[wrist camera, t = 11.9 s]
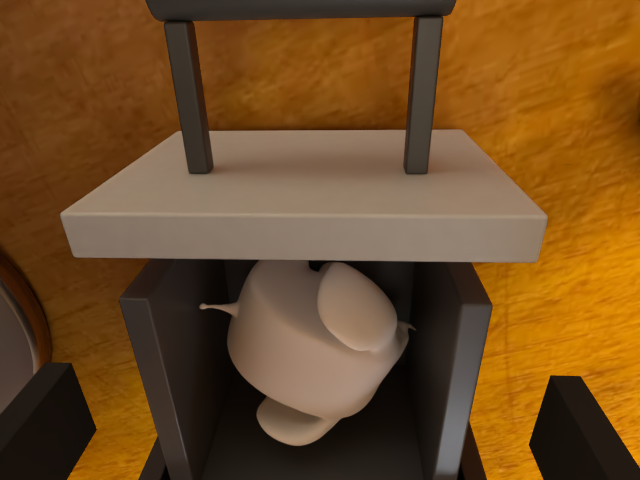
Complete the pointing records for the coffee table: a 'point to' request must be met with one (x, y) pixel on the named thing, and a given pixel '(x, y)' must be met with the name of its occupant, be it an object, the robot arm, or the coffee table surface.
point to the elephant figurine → (312, 344)
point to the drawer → (315, 246)
